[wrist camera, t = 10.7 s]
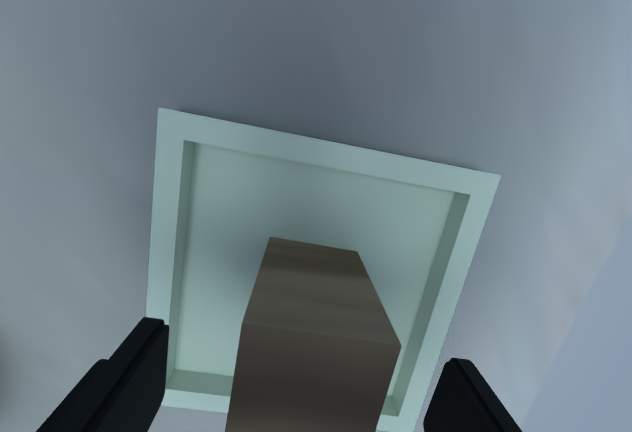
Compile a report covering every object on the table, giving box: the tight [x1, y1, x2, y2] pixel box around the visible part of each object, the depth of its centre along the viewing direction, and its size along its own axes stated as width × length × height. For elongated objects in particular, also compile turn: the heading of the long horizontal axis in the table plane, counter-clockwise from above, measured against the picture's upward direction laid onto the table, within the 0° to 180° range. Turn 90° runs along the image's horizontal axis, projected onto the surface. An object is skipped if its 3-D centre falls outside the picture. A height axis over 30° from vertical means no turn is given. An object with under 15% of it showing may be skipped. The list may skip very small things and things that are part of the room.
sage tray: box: [146, 107, 501, 432], centre depth 17 cm, size 16×16×2 cm
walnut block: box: [225, 237, 402, 432], centre depth 14 cm, size 5×5×8 cm
